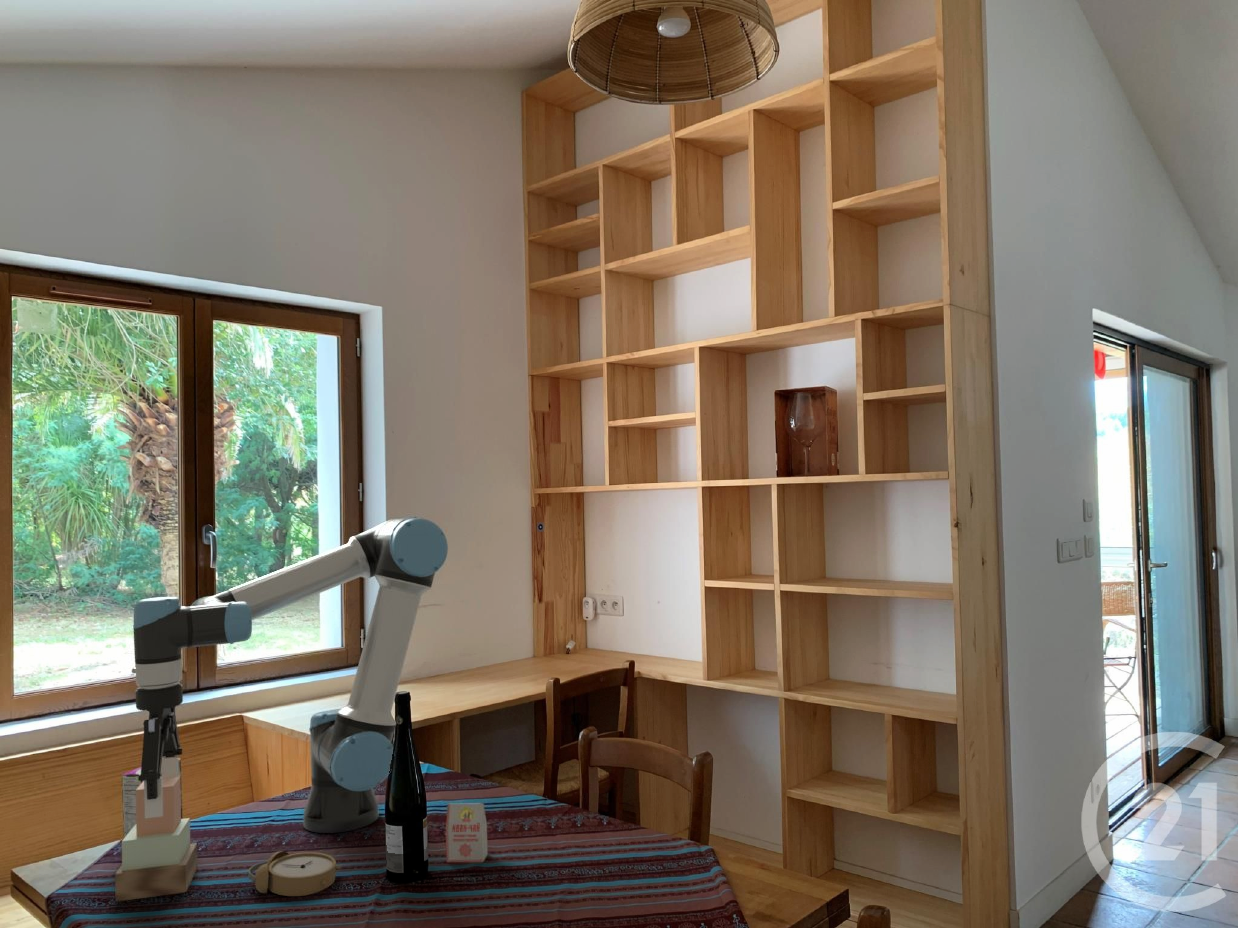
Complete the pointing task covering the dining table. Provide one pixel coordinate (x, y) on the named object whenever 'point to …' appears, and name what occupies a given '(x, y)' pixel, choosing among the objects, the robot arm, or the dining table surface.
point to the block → (170, 809)
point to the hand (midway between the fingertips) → (162, 804)
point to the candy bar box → (134, 796)
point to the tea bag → (466, 832)
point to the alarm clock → (294, 873)
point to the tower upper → (155, 848)
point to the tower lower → (156, 878)
